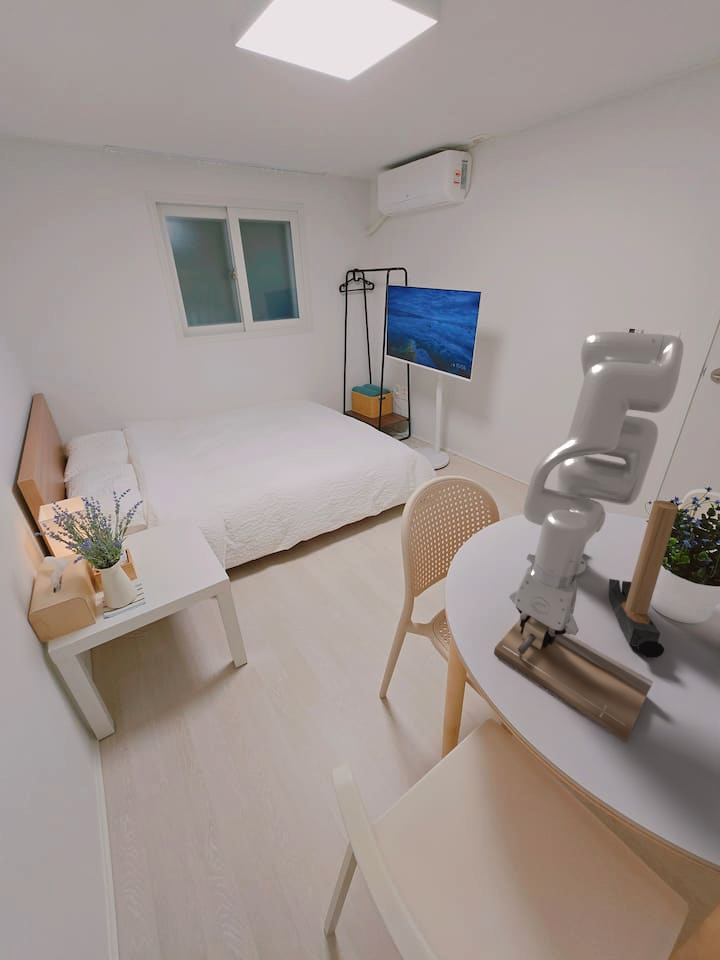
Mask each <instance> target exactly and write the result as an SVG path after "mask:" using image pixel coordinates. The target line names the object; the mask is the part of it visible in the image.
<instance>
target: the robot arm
mask: <svg viewBox="0 0 720 960" xmlns="http://www.w3.org/2000/svg"><path fill="white" fill-rule="evenodd" d="M580 352H581V353H580V360H581V368H582V372H583V377H584V378H583V382H582V386H581V390H580V393H579V396H578V400H577V402H576V403H577V404H576V407H575V410H574V415H573V418H572V421H571V425H570V429H569V432H568V435H567V437H566V439H565V440H564V441H563V442H561V443H560V444H558V445H557V446H556V447H554V448H553V449H552V450H550V451H548V453H546V454H545V455H544V456H543V457H542V458H541V460H540V461H539V462H538V463H537V465H536V466H535V468H534V470H533V473H532V475H531V479H530V482H529V485H528V488H527V492H526V496H525V498H524V502H523V503H524V504H523V510H522V511H523V515H524V517H525V519H526V520H527V521H528V522H530V523H531V524H535V525H538V526H541V530H540V534H539V539H538V543H537V547H536V552H535V554H531V553H528V555H527V557H526V560H527V561H528V562H529V563H530V564H531V565H530V566H528V567H527V569H526V570H525V573H524V575H523V577H522V580H521V582H520V584H519V587H518V590H516V591H514V592H512V593H511V594H510V595H509V599H510V600H511V602H512V603H513V604H515V605H514V606H515V608H516V610H517V611H518V613H519V614H520V615H519V619H520V618H521V623H520V627H522V628H521V632H520V633H521V634H523V630H524V626H525V623H526V622H527V621H528V619H529V618H530V617H533V618H535V619H536V620H538V621H540V622H542V623H543V624H545V625H547V626H549V630H548V631H547V632H546V634H545V637H544V640H543V644H542V647H544V648H546V646H547V645H548V644H550V645H551V644H552V643H553V641H554V639H555V636H556V635H560V634H565V633H567V634H570V635H572V636H574V635H577V634H578V632H579V626H578V624H577V621H576V620H575V618H574V612H575V606H576V602H577V592H578V583H577V581H576V578H577V577H579V576H581V575H583V574H584V573H585V571H586V568H587V564H586V561H585V559H584V558H583V554H584V552H585V550H586V549H585V548H586V546H587V543H588V542H589V541H590V539H591V538H593V537H594V535H595V534H596V533H598V532H599V531H600V530H602V527H603V525H604V523H605V521H606V515H607V514H606V512H605V508H604V505H603V504H601V502H598V501H602V502H607V503H611V504H616V505H621V506H630V505H632V504H634V503H635V502H636V501H637V500H638V498H639V495H640V494H641V490H642V488H643V485H644V482H645V479H646V477H647V476H646V475H647V473H648V471H649V467H650V464H651V461H652V459H653V458H652V457H653V456H654V452H655V448H656V445H657V442H658V435H659V430H658V425H657V423H656V422H655V421H653V420H652V419H649V418H646V417H645V418H644V417H639V416H633V415H627V411H629V410H631V411H639V412H644V413H645V412H646V413H653V414H654V413H660V412H662V411H664V410H665V409H666V408H667V407H668V406H669V404H671V401H672V399H673V397H674V394H675V392H676V388H677V385H678V381H679V376H680V372H681V366H682V359H683V354H684V343H683V341H682V339H681V338H680V337H678V336H674V335H672V334H659V333H641V332H639V333H638V332H631V331H630V332H628V331H627V332H624V331H599V332H594V333H591V334H589V335H588V336H587V337H585V339H584V340H583V343H582V346H581V351H580ZM593 455H602V456H609V457H613V458H617V459H618V458H619V459H622V460H623V461H624V462H625V463H622V462H617V461H613V460H612V461H611V460H607V459H603V458H598V457H592V456H593ZM559 464H560V465H559ZM558 465H559V467H558V471H557V472H558V473H557V484H556V490H554V489H550V488H547V487H546V488H545V484H546V481H547V479H548V476H549V475H550V473H551V471H552V470H553V469H554V468H555V467H556V466H558ZM596 500H598V501H596Z"/></svg>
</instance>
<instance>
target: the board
mask: <svg viewBox="0 0 720 960" xmlns="http://www.w3.org/2000/svg"><path fill="white" fill-rule="evenodd" d="M520 623H521V618H520V617H519V619H518V620H517V622H515V624H514V625H513V626H512V628H511V629H510V630H509V631H507V633H506V634H505V635H504V637H503V638H501V640H499V642H498V643H497V644H496V646H495V647H494V650H493V654H494V655H496V656H497V657H499V658H500V659H501V660H503V661H504V662H506V663H508V665H510V666H512V667H513V668H514V669H516V670H518V671H520V672H521V673H523V674H524V675H526V676H527V677H529V679H532V680H533V681H534V682H535V683H537V684H539V685H540V686H541V687H543V688H545V689H546V690H548V691H549V692H551V693H552V694H554V695H555V696H556V697H558V698H560V700H563V701H564V702H566V703H567V704H568V705H570V706H572V707H573V708H574V709H576V710H578V711H579V712H580V713H582V714H584V715H585V716H586V717H587V718H589V719H591V720H592V721H594V722H595V723H597V724H598V725H600V726H601V727H602V728H604V729H606V730H607V731H608V732H610V733H612V734H613V735H614V736H616V737H617V738H619V739H620V740H622V741H624V742H625V743H626V742H627V740H628V739H629V736H630V735H631V732H632V731H633V727H634V725H635V723H636V720H637V719H638V716H639V714H640V711H641V710H642V707H643V705H644V702H645V701H646V698H647V696H648V693H649V691H650V689H651V687H652V685H653V684H654V681H653V680H652V679H650V678H648V677H646V676H644V675H642V674H641V673H639V672H637V671H635V670H634V669H632V668H630V667H628V666H626V665H625V664H623V663H622V662H619V661H618V660H616V659H614V658H613V657H610V656H609V655H607V654H606V653H603V652H602V651H600V650H598V649H597V648H595V647H593V646H592V645H589V644H588V643H586V642H584V641H583V640H581V639H579V638H578V637H577V638H576V637H575V636H574V635H573V634H567V633H565V634H560V635H556V636H555V639H554V641H553V643H552V644H551V645H550V644H548V645H547V646H546V648H544V647H541V649H538V648H537V647H535V646H534V645H532V644H531V645H530V647H529V648H528V649H527V651H526V652H525V653H524V654H522V658H520V657H519V653H520V652H519V651H518V648H519V646H520V645H521V644H522V643H523V642H524V639H522V634H521V633H520V632H521V628H522V627H520Z"/></svg>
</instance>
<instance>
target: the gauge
mask: <svg viewBox="0 0 720 960" xmlns="http://www.w3.org/2000/svg"><path fill="white" fill-rule="evenodd" d="M548 630H549V626H547V625H545V624H543V623H542V622H540V621H538V620H536V619H535V618H533V617H530V618H529V619H528V621H527V622H526V623H525V626H524V630H523V634H522V639H524V642H523V643H522V644H521V645H520V646H519V648H518V651H519V652H520V653H519V657H520V658H522V654H524V653H525V652H526V651H527V649H528V648H529V647H530V645H531V644H532V645H534V646H535V647H537V648H538V649H541V647H542V644H543V640H544V637H545V634H546V632H547V631H548Z"/></svg>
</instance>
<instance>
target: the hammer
mask: <svg viewBox="0 0 720 960" xmlns="http://www.w3.org/2000/svg"><path fill="white" fill-rule="evenodd" d="M678 510H679V506H678V505H677V504H676V503H673V502H670V501H665V500H654V501H653V503H652V507H651V510H650V514H649V517H648V521H647V525H646V528H645V533H644V537H643V540H642V544H641V547H640V550H639V551H640V552H639V554H638V559H637V561H636V565H635V568H634V573H633V576H632V581H627V580H622V585H621V584H620V583H621V582H620V581H621V580H619V579H612V578H609V579H608V595H609V596H608V598H609V602H610V605H611V607H612V609H613V612H614V615H615V617H616V620H617V622H618V625H619V628H620V629H621V632H622V634H623V636H624V637H625V640H626V641H627V643H628V646H633V647H637V651H638V653H639V654H640V655H642V657H644V658H645V657H646V658H650V659H656V658H659V657H661V656H662V655H663V654H664V653H665V647H664V646H663V644H662V643H660V642H659V640H660V639H659V638H660V636H661V632H660V630H659V629H658V627H657V626H656V625H655V623H654V622H653V621H652V619H651V618H650V616H649V614H648V612H649V609H650V606H651V602H652V598H653V594H654V591H655V588H656V585H657V582H658V578H659V575H660V572H661V568H662V565H663V561H664V558H665V556H666V555H665V554H666V551H667V547H668V544H669V540H670V538H671V534H672V531H673V528H674V524H675V522H676V518H677V513H678Z"/></svg>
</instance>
